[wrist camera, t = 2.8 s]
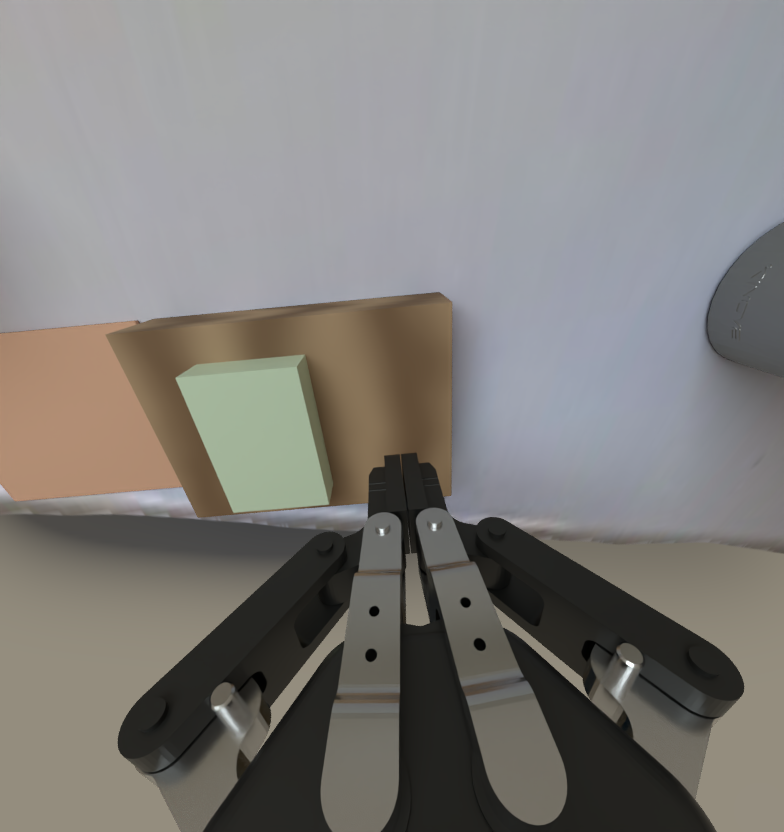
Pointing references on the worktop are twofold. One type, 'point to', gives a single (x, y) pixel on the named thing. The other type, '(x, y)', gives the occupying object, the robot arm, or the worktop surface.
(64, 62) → the worktop surface
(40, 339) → the mat
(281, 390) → the pale green foam block
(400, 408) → the board
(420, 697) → the robot arm
